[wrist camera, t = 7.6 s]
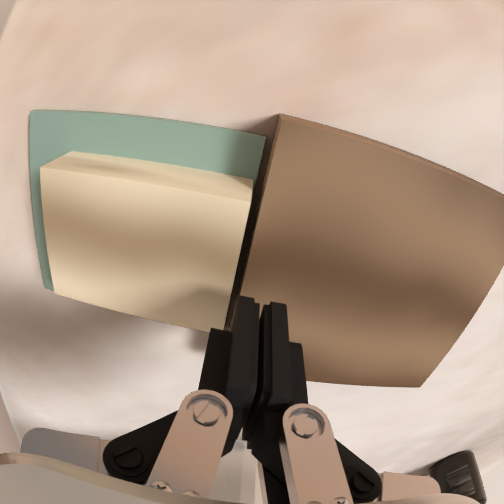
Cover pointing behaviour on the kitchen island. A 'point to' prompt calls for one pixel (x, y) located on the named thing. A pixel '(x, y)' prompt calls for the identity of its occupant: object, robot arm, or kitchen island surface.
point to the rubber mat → (134, 149)
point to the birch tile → (144, 236)
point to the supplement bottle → (459, 476)
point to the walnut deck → (369, 254)
